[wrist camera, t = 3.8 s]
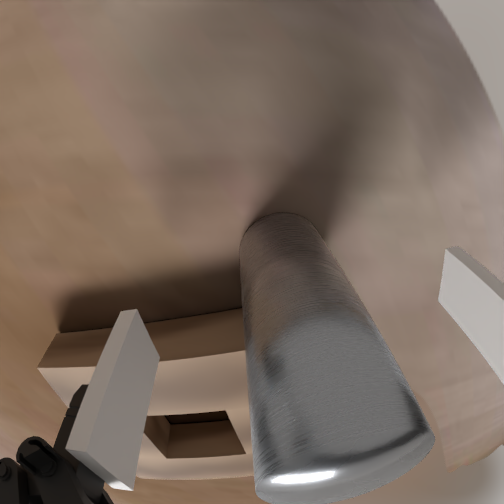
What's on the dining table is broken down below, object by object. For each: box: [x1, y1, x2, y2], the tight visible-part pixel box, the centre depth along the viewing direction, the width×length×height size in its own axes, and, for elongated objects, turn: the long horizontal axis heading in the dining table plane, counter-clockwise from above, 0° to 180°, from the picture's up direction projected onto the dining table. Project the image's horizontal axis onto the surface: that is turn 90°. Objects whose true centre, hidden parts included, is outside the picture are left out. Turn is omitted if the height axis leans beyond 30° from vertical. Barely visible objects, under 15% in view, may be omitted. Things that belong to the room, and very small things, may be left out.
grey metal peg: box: [239, 213, 435, 504], centre depth 11 cm, size 4×4×12 cm
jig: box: [37, 308, 254, 480], centre depth 20 cm, size 16×16×4 cm
